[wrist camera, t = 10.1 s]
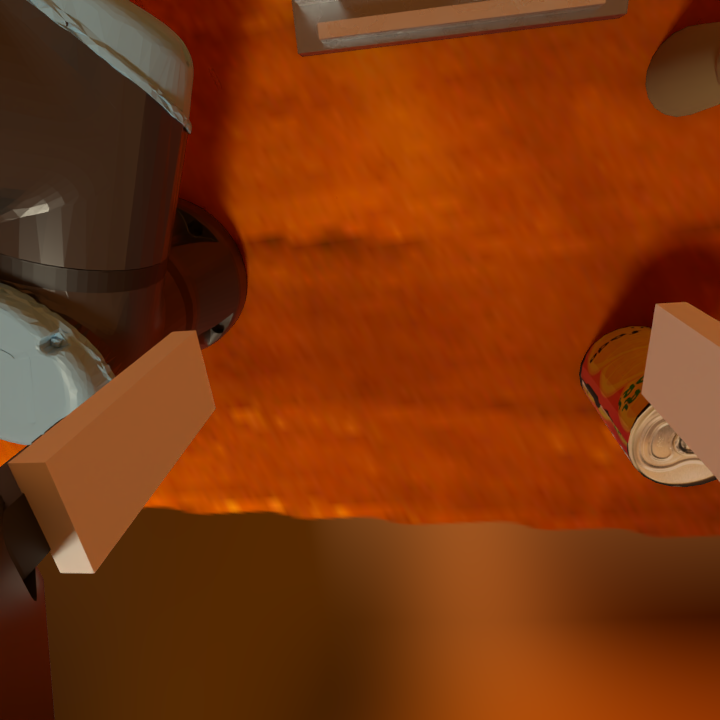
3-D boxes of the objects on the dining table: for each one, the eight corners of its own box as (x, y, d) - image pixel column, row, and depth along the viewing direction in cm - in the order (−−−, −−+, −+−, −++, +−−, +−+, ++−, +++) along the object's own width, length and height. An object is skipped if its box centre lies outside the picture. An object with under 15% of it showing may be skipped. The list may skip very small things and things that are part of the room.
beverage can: (580, 331, 46) (631, 391, 35) (683, 320, 44) (770, 379, 33) (578, 413, 49) (624, 490, 38) (673, 405, 48) (749, 483, 37)
